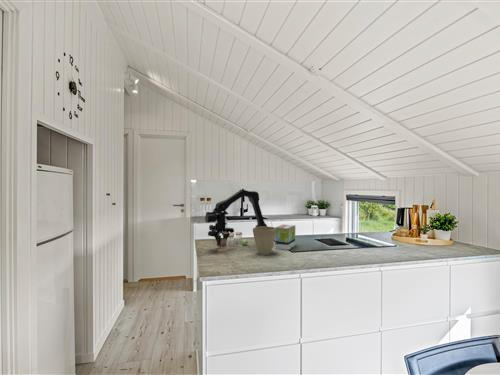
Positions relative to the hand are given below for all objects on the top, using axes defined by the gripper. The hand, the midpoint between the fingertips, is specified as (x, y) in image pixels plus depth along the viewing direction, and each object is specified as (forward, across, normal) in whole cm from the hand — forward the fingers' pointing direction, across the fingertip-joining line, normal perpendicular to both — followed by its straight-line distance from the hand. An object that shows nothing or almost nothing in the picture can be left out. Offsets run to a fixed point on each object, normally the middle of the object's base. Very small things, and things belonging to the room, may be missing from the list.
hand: (221, 244), depth 190 cm
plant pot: (+4, -12, +27) cm, 30 cm away
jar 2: (+4, -12, -4) cm, 13 cm away
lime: (+4, -21, +2) cm, 21 cm away
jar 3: (+4, -22, -5) cm, 23 cm away
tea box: (+4, -34, +28) cm, 44 cm away
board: (+4, -3, -1) cm, 5 cm away
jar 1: (+4, -16, -7) cm, 18 cm away
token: (+1, 0, 0) cm, 1 cm away
